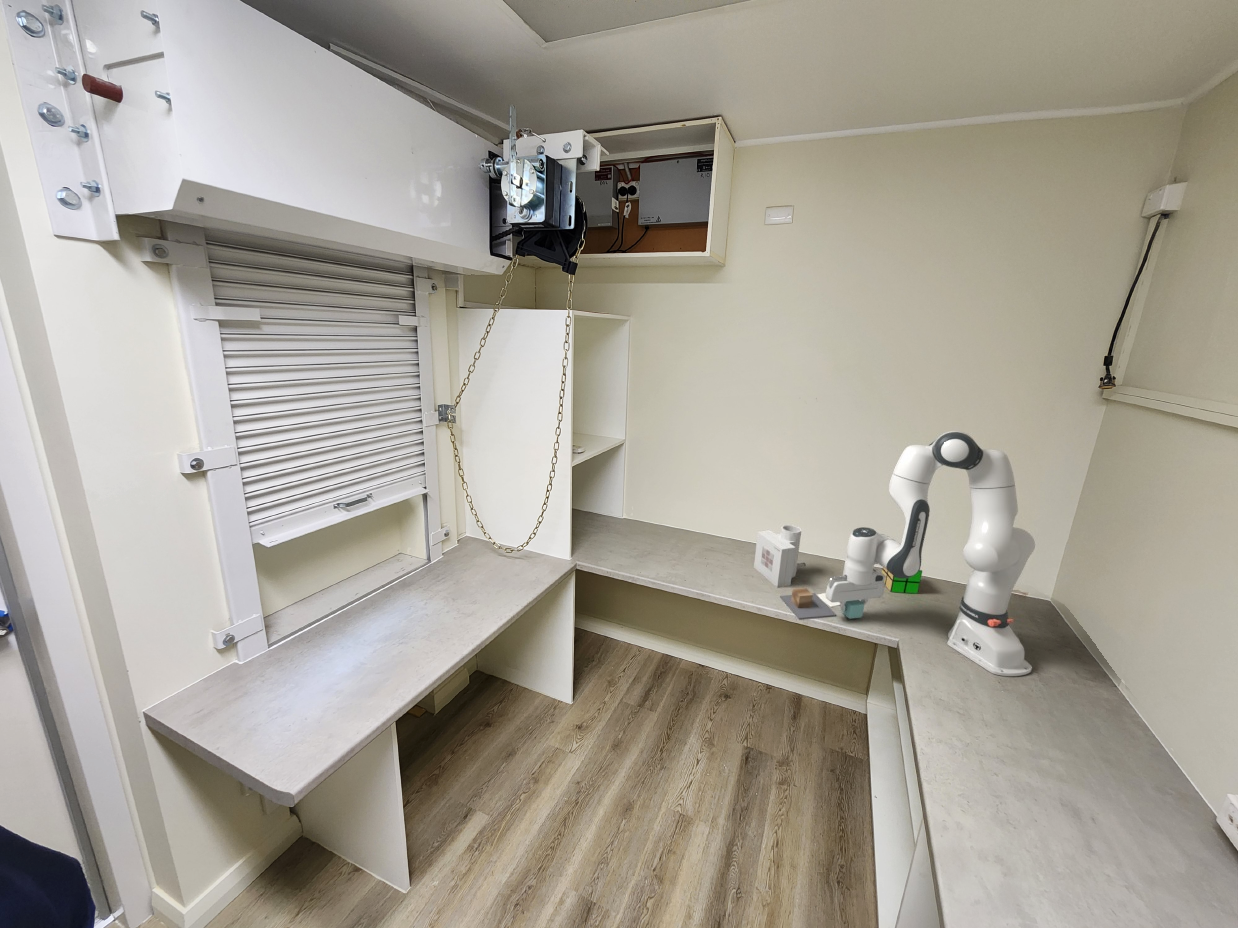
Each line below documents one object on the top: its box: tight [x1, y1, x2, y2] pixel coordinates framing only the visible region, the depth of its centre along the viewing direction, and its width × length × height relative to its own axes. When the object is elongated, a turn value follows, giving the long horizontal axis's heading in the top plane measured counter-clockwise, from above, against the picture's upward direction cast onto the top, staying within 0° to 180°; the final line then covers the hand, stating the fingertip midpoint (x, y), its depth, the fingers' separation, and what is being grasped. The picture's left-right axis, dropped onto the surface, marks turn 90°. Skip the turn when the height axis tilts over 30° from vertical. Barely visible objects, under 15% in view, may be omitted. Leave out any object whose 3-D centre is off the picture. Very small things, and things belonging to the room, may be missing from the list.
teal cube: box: [839, 600, 865, 619], centre depth 171 cm, size 5×5×5 cm
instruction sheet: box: [816, 592, 841, 608], centre depth 182 cm, size 8×7×1 cm
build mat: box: [779, 592, 837, 620], centre depth 178 cm, size 14×14×1 cm
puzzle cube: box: [881, 567, 923, 595], centre depth 191 cm, size 10×10×10 cm
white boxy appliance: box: [753, 524, 807, 588], centre depth 197 cm, size 16×19×20 cm
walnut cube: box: [791, 587, 813, 608], centre depth 177 cm, size 5×5×5 cm
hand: (851, 609), depth 171 cm, fingers closed on teal cube, 5 cm apart
